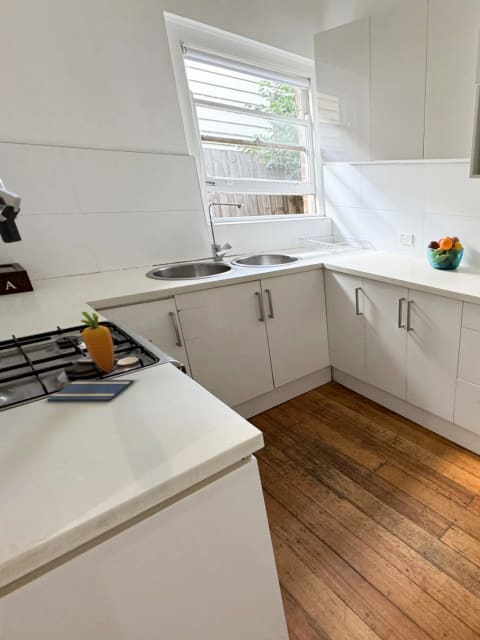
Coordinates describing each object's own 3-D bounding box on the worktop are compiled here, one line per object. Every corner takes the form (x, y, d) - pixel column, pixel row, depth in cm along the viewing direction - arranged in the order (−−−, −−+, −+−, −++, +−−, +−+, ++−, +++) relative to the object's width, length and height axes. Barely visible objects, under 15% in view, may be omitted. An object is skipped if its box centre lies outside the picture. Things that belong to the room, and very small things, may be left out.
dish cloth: (47, 401, 77) (46, 398, 77) (77, 381, 84) (76, 379, 84) (109, 401, 78) (108, 398, 78) (133, 381, 85) (133, 379, 85)
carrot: (124, 373, 89) (105, 312, 83) (97, 380, 85) (76, 317, 79) (119, 365, 92) (100, 306, 86) (93, 372, 88) (72, 311, 82)
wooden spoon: (72, 367, 90) (70, 363, 90) (85, 359, 94) (84, 355, 94) (132, 367, 91) (131, 363, 91) (143, 359, 95) (142, 355, 95)
